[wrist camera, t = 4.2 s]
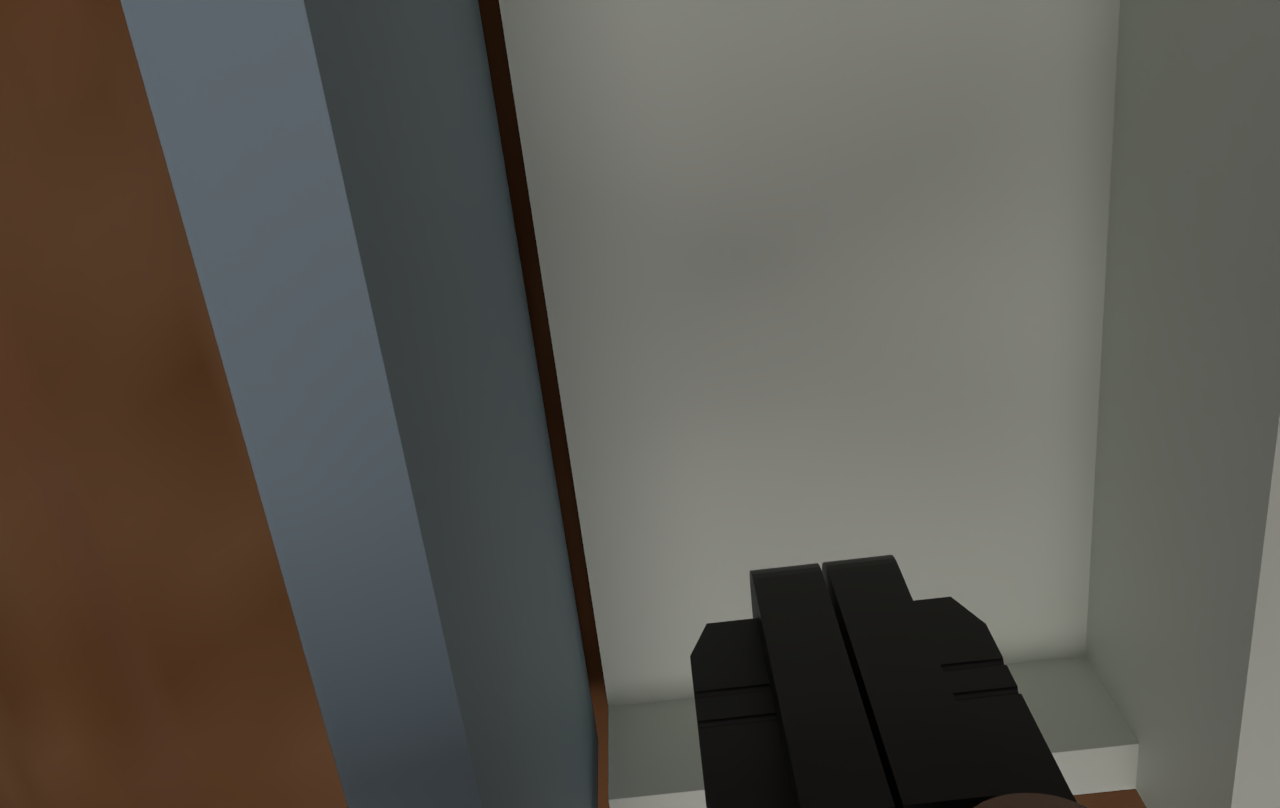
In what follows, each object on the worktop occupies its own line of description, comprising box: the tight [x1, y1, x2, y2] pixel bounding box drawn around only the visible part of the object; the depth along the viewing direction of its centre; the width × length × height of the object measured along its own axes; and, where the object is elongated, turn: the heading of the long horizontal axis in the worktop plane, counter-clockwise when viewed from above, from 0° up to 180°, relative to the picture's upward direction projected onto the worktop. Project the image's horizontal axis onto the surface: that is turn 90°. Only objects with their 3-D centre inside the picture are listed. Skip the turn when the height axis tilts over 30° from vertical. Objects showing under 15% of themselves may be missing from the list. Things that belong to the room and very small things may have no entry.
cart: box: [499, 0, 1280, 808], centre depth 18 cm, size 10×17×7 cm, turn 6°
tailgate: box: [121, 0, 598, 808], centre depth 16 cm, size 1×16×10 cm, turn 7°
